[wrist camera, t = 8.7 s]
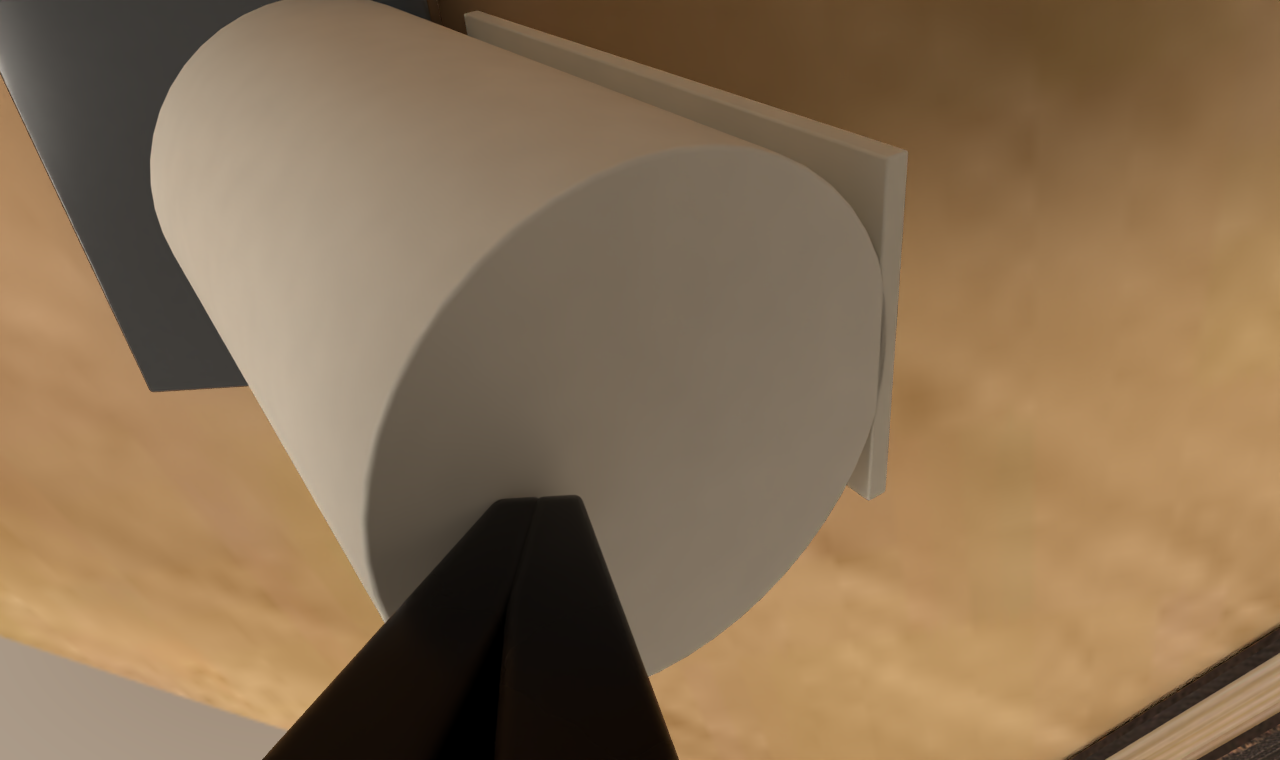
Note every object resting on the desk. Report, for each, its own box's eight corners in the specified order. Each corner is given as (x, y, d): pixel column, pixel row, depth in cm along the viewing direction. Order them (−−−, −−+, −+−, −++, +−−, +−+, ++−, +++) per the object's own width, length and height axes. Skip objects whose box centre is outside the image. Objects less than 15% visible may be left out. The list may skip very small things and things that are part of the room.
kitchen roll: (915, 66, 9) (260, 281, 6) (882, 539, 12) (448, 804, 10) (468, -40, 16) (82, 39, 13) (526, 274, 19) (224, 385, 17)
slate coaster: (404, -170, 15) (391, -166, 14) (510, 352, 21) (505, 372, 20) (-58, -118, 16) (-91, -112, 15) (166, 374, 21) (149, 394, 21)
